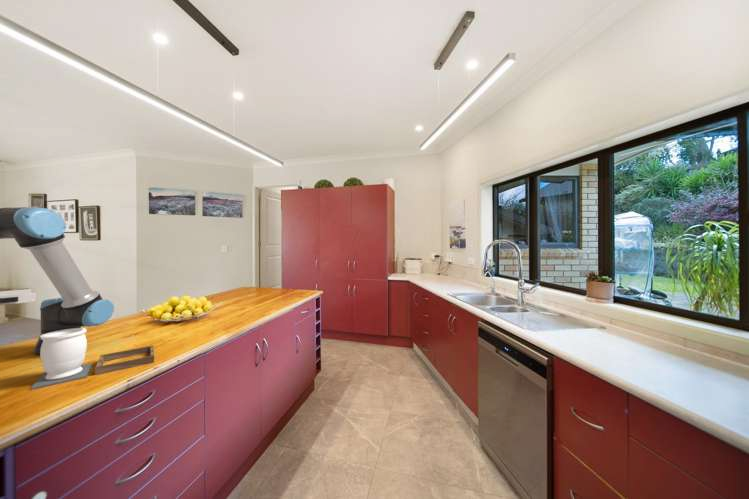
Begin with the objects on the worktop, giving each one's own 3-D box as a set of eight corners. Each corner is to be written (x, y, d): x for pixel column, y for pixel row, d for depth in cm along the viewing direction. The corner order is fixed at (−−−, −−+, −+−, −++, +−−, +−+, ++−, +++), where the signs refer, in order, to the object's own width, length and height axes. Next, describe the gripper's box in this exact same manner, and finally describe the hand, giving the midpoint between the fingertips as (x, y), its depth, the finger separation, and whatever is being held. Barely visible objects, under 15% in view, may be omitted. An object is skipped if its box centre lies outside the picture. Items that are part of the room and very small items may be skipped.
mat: (43, 373, 93) (43, 372, 93) (92, 364, 101) (92, 362, 101) (30, 389, 82) (30, 388, 82) (86, 377, 90) (86, 376, 90)
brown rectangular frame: (100, 361, 103) (100, 355, 103) (153, 351, 114) (153, 345, 114) (95, 375, 92) (95, 368, 92) (154, 362, 103) (154, 355, 103)
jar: (53, 383, 85) (54, 338, 85) (31, 380, 87) (31, 335, 87) (94, 369, 96) (94, 328, 96) (73, 366, 98) (73, 326, 98)
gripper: (-90, 314, 77) (29, 301, 94) (-106, 329, 63) (37, 311, 81) (-90, 288, 77) (29, 281, 94) (-106, 298, 63) (37, 287, 81)
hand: (33, 294), depth 87 cm, fingers open, 13 cm apart
